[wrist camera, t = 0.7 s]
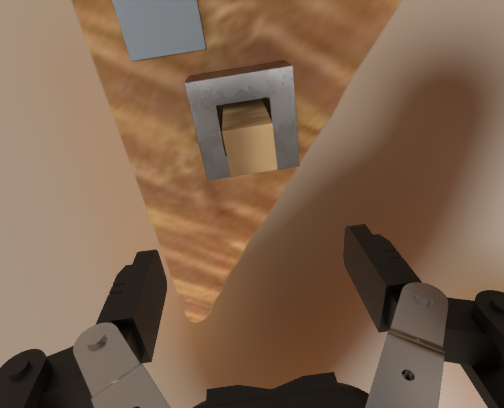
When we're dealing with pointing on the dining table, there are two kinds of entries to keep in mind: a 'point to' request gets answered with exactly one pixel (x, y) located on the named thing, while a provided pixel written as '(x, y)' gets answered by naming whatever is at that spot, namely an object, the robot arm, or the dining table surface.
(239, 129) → the square peg
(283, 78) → the socket block
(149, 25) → the rubber mat
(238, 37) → the dining table surface
